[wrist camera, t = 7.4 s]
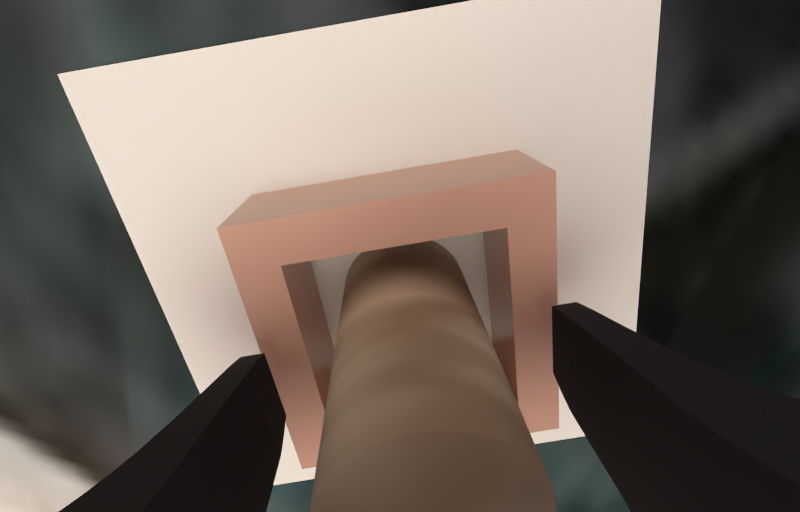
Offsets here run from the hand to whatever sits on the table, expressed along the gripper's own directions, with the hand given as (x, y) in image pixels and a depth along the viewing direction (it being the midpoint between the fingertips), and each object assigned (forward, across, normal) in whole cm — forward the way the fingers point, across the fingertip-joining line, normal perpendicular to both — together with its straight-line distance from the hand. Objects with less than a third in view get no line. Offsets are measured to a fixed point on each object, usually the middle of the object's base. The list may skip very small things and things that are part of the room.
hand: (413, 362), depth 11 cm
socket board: (+5, 0, 0) cm, 5 cm away
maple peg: (+4, 0, 0) cm, 4 cm away
